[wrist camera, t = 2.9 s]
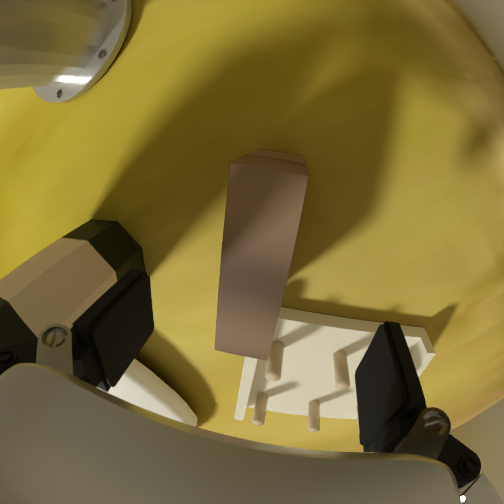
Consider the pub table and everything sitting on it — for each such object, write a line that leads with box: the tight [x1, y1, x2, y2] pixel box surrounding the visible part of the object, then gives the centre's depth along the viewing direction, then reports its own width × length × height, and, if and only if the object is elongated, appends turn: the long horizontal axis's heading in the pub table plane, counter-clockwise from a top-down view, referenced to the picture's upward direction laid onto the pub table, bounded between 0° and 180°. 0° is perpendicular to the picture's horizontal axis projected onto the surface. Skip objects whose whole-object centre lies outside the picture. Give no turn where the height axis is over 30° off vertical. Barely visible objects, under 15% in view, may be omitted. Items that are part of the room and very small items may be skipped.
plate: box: [97, 358, 198, 427], centre depth 31 cm, size 28×6×27 cm
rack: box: [234, 307, 436, 433], centre depth 23 cm, size 14×16×5 cm
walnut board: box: [215, 149, 308, 361], centre depth 16 cm, size 10×3×8 cm, turn 173°
